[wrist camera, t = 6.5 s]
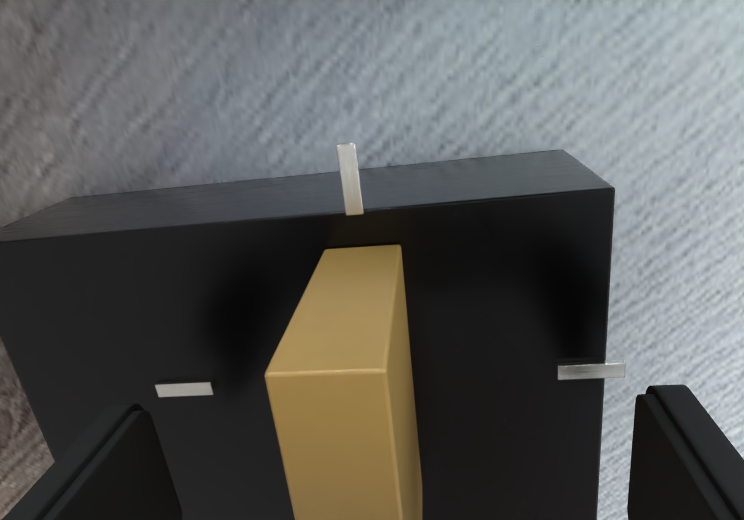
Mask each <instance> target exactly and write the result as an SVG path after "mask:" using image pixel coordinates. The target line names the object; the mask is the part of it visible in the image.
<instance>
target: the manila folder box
mask: <svg viewBox="0 0 744 520" xmlns="http://www.w3.org/2000/svg"><path fill="white" fill-rule="evenodd" d="M264 377H265V381H266V386H267V391H268V395H269V400H270V405H271V409H272V414H273V419H274V423H275V428H276V433H277V438H278V442H279V447H280V452H281V456H282V461H283V466H284V470H285V475H286V480H287V484H288V489H289V494H290V499H291V503H292V508H293V513H294V517H295V520H422V478H421V466H420V455H419V444H418V433H417V421H416V410H415V399H414V387H413V376H412V365H411V354H410V342H409V331H408V320H407V308H406V297H405V286H404V274H403V263H402V252H401V246H400V245H385V246H369V247H354V248H339V249H326V250H324V252H323V254H322V256H321V259H320V261H319V263H318V265H317V267H316V269H315V271H314V273H313V275H312V277H311V279H310V281H309V283H308V285H307V287H306V289H305V291H304V294H303V296H302V298H301V300H300V302H299V304H298V306H297V308H296V310H295V312H294V314H293V316H292V318H291V320H290V322H289V324H288V326H287V329H286V331H285V333H284V335H283V337H282V339H281V341H280V343H279V345H278V347H277V349H276V351H275V353H274V355H273V357H272V359H271V361H270V364H269V366H268V368H267V370H266V372H265V375H264Z"/></svg>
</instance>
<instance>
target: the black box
mask: <svg viewBox="0 0 744 520" xmlns="http://www.w3.org/2000/svg"><path fill="white" fill-rule="evenodd" d="M336 148H337V155H338V162H339V169H340V171H338V172H328V173H318V174H308V175H297V176H287V177H277V178H267V179H257V180H247V181H236V182H226V183H216V184H206V185H196V186H185V187H175V188H165V189H155V190H145V191H134V192H124V193H114V194H104V195H94V196H84V197H73V198H69V199H67V200H65V201H62V202H60V203H58V204H55V205H53V206H51V207H48V208H46V209H44V210H41V211H39V212H37V213H35V214H32V215H30V216H28V217H25V218H23V219H21V220H18V221H16V222H14V223H11V224H9V225H7V226H4V227H2V228H0V337H1V340H2V342H3V344H4V346H5V349H6V351H7V353H8V356H9V358H10V360H11V362H12V365H13V367H14V369H15V372H16V374H17V376H18V379H19V381H20V383H21V385H22V388H23V390H24V392H25V395H26V397H27V399H28V401H29V404H30V406H31V408H32V411H33V413H34V415H35V417H36V420H37V422H38V424H39V427H40V429H41V431H42V433H43V436H44V438H45V440H46V443H47V445H48V447H49V449H50V452H51V454H52V456H53V459H54V461H56V460H57V459H58V458H59V457H60V456H61V455H62V454H63V453H64V452H65V451H66V449H67V448H68V447H69V446H70V445H71V444H72V443H73V442H74V441H75V440H76V439H77V437H78V436H79V435H80V434H81V433H82V432H83V431H84V430H85V429H86V428H87V427H88V425H89V424H90V423H91V422H92V421H93V420H94V419H95V418H96V417H97V416H98V415H99V414H100V412H101V411H102V410H103V409H104V408H105V407H107V406H108V405H111V404H133V403H137V404H140V405H141V406H142V407H143V409H144V410H145V411H148V412H149V413H150V414H151V416H152V419H153V422H154V425H155V428H156V432H157V435H158V438H159V441H160V444H161V447H162V450H163V453H164V456H165V459H166V462H167V465H168V468H169V472H170V475H171V478H172V481H173V484H174V487H175V490H176V493H177V496H178V499H179V502H180V505H181V509H182V520H295V517H294V513H293V508H292V503H291V499H290V494H289V489H288V484H287V480H286V475H285V470H284V466H283V461H282V456H281V452H280V447H279V442H278V438H277V433H276V428H275V423H274V419H273V414H272V409H271V405H270V400H269V395H268V391H267V386H266V381H265V377H264V375H265V372H266V370H267V368H268V366H269V364H270V361H271V359H272V357H273V355H274V353H275V351H276V349H277V347H278V345H279V343H280V341H281V339H282V337H283V335H284V333H285V331H286V329H287V326H288V324H289V322H290V320H291V318H292V316H293V314H294V312H295V310H296V308H297V306H298V304H299V302H300V300H301V298H302V296H303V294H304V291H305V289H306V287H307V285H308V283H309V281H310V279H311V277H312V275H313V273H314V271H315V269H316V267H317V265H318V263H319V261H320V259H321V256H322V254H323V252H324V250H326V249H339V248H354V247H369V246H385V245H400V246H401V252H402V263H403V274H404V286H405V297H406V308H407V320H408V331H409V342H410V354H411V365H412V376H413V387H414V399H415V410H416V421H417V433H418V444H419V455H420V466H421V478H422V520H597V505H598V487H599V469H600V451H601V433H602V415H603V397H604V379H605V378H616V377H625V368H626V363H625V361H624V360H623V359H622V360H606V343H607V325H608V307H609V289H610V271H611V253H612V235H613V217H614V200H615V188H614V187H613V186H611V185H610V184H609V183H607V182H606V181H605V180H603V179H602V178H601V177H599V176H598V175H597V174H595V173H594V172H593V171H591V170H590V169H588V168H587V167H586V166H584V165H583V164H582V163H580V162H579V161H578V160H576V159H575V158H574V157H572V156H571V155H570V154H568V153H567V152H566V151H564V150H552V151H542V152H532V153H522V154H511V155H501V156H491V157H481V158H471V159H461V160H450V161H440V162H430V163H420V164H410V165H399V166H389V167H379V168H369V169H359V165H358V157H357V149H356V143H355V142H353V143H343V144H337V145H336Z"/></svg>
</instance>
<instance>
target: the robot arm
mask: <svg viewBox="0 0 744 520" xmlns="http://www.w3.org/2000/svg"><path fill="white" fill-rule="evenodd" d="M627 511H628V519H629V520H744V460H743V458H742V457H741V456H740V454H739V453H738V452H737V450H736V449H735V448H734V447H733V445H732V444H731V443H730V441H729V440H728V439H727V437H726V436H725V435H724V434H723V432H722V431H721V430H720V428H719V427H718V426H717V424H716V423H715V422H714V420H713V419H712V418H711V417H710V415H709V414H708V413H707V411H706V410H705V409H704V407H703V406H702V405H701V404H700V402H699V401H698V400H697V398H696V397H695V396H694V394H693V393H692V392H691V391H690V389H689V388H688V387H687V386H685V385H656V386H649V387H648V388H647V390H646V394H639V395H637V397H636V403H635V416H634V429H633V441H632V454H631V467H630V480H629V493H628V506H627ZM2 520H182V509H181V505H180V502H179V499H178V496H177V493H176V490H175V487H174V484H173V481H172V478H171V475H170V472H169V468H168V465H167V462H166V459H165V456H164V453H163V450H162V447H161V444H160V441H159V438H158V435H157V432H156V428H155V425H154V422H153V419H152V416H151V414H150V413H149V412H148V411H145V410H144V409H143V407H142V406H141V405H140V404H137V403H133V404H111V405H108V406H107V407H105V408H104V409H103V410H102V411H101V412H100V414H99V415H98V416H97V417H96V418H95V419H94V420H93V421H92V422H91V423H90V424H89V425H88V427H87V428H86V429H85V430H84V431H83V432H82V433H81V434H80V435H79V436H78V437H77V439H76V440H75V441H74V442H73V443H72V444H71V445H70V446H69V447H68V448H67V449H66V451H65V452H64V453H63V454H62V455H61V456H60V457H59V458H58V459H57V460H56V461H55V463H54V464H53V465H52V466H51V467H50V468H49V469H48V470H47V471H46V472H45V473H44V475H43V476H42V477H41V478H40V479H39V480H38V481H37V482H36V483H35V484H34V485H33V487H32V488H31V489H30V490H29V491H28V492H27V493H26V494H25V495H24V496H23V497H22V499H21V500H20V501H19V502H18V503H17V504H16V505H15V506H14V507H13V508H12V509H11V510H10V512H9V513H8V514H7V515H6V516H5V517H4V518H3V519H2Z"/></svg>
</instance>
